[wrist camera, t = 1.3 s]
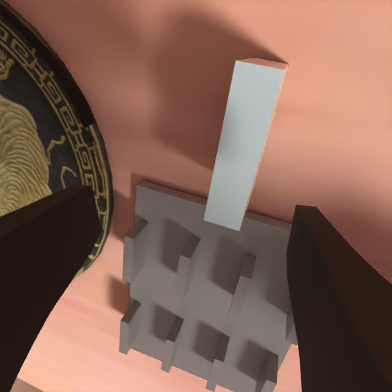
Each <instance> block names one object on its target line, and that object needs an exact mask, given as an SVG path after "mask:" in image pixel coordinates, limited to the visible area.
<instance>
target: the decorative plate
mask: <svg viewBox="0 0 392 392" xmlns="http://www.w3.org/2000/svg"><path fill="white" fill-rule="evenodd" d="M76 184H79V185H89V186H92V188H93V193H94V197H95V202H96V207H97V211H98V216H99V220H100V225H101V229H102V231H101V233H100V235H99V237H98V239H97V241H96V243H95V245H94V247H93V249H92V251H91V253H90V255H89V256H88V258H87V259H86V261H85V262H84V264H83V265H82V267H81V268H80V270H79V271H78V273H77V274H76V275H75V277H77V276H78V275H80V274H81V273H83V272H84V271H86V270H87V269H88V268H89V267H90V265H91V264H92V263H93V262H94V261H95V259H96V258H97V257H98V256H99V254H100V253H101V252H102V249H103V247H104V245H105V242H106V240H107V238H108V235H109V233H110V228H111V221H112V215H113V208H114V200H113V184H112V173H111V169H110V165H109V161H108V157H107V153H106V149H105V145H104V140H103V138H102V135H101V133H100V131H99V128H98V126H97V123H96V121H95V119H94V116H93V114H92V112H91V109H90V107H89V104H88V102H87V100H86V99H85V97H84V95H83V94H82V92H81V90H80V89H79V87H78V85H77V84H76V82H75V81H74V79H73V77H72V76H71V74H70V72H69V71H68V69H67V67H66V66H65V64H64V63H63V61H62V60H61V59H60V58H59V57H58V55H57V54H56V53H55V52H54V51H53V49H52V48H51V47H50V46H49V45H48V43H47V42H46V41H45V40H44V38H43V37H42V36H41V35H40V34H39V32H38V31H37V30H36V29H35V28H34V27H33V26H32V25H31V24H30V23H29V22H27V21H26V20H25V19H24V18H23V17H22V16H21V15H20V14H18V13H17V12H16V11H15V10H14V9H13V8H12V7H11V6H9V5H8V4H7V3H6V2H5V1H4V0H0V216H3V215H5V214H7V213H10V212H12V211H15V210H17V209H19V208H22V207H24V206H26V205H28V204H31V203H33V202H35V201H37V200H39V199H42V198H44V197H46V196H48V195H51V194H53V193H55V192H58V191H60V190H62V189H65V188H67V187H70V186H73V185H76ZM75 277H74V278H75ZM74 278H73V279H74Z"/></svg>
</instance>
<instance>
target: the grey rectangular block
mask: <svg viewBox="0 0 392 392" xmlns="http://www.w3.org/2000/svg"><path fill="white" fill-rule="evenodd" d="M288 65H289V64H286V63H281V62H276V61H270V60H265V59H260V58H249V59H242V60H236V61H235V66H234V71H233V76H232V81H231V86H230V91H229V96H228V101H227V106H226V111H225V116H224V121H223V126H222V131H221V136H220V141H219V146H218V151H217V156H216V161H215V166H214V171H213V176H212V181H211V186H210V191H209V196H208V201H207V206H206V211H205V216H204V220H205V221H208V222H211V223H215V224H218V225H221V226H224V227H228V228H231V229H234V230H237V231H239V230H240V227H241V224H242V221H243V218H244V215H245V212H246V209H247V206H248V203H249V200H250V197H251V194H252V191H253V188H254V185H255V181H256V178H257V174H258V171H259V167H260V164H261V160H262V157H263V153H264V150H265V146H266V143H267V139H268V136H269V132H270V129H271V125H272V121H273V118H274V114H275V111H276V107H277V104H278V100H279V97H280V93H281V90H282V86H283V83H284V79H285V76H286V72H287V69H288Z"/></svg>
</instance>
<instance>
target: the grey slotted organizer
mask: <svg viewBox="0 0 392 392" xmlns="http://www.w3.org/2000/svg"><path fill="white" fill-rule="evenodd" d="M207 201H208V199H205V198H202V197H198V196H195V195H192V194H188V193H185V192H181V191H178V190H174V189H171V188H168V187H164V186H161V185H157V184H154V183H151V182H147V181H144V180H142V181H141V182H140V183H138V184H137V186H136V202H135V218H134V226H133V227H132V228H131V230H130V231H129V232H128V233H127V234H126V235H125V236H124V254H123V277H122V280H123V281H125V282H128V283H130V297H129V309H128V310H127V312H126V313H125V315H124V316H123V318H122V319H121V322H120V345H119V352H122V353H124V354H126V355H127V353H128V351H129V350H130V348H132V349H134V350H136V351H139V352H141V353H143V354H146V355H148V356H151V357H153V358H155V359H158V360H160V361H162V366H161V370H164V371H166V372H168V373H169V371H170V369H171V366H174V367H177V368H179V369H182V370H184V371H186V372H189V373H191V374H193V375H196V376H198V377H201V378H203V379H205V380H208V381H207V385H206V389H208V390H211V391H213V392H214V390H215V387H216V384H217V385H220V386H222V387H224V388H227V389H229V390H232V391H234V392H273V390H274V388H275V386H276V384H277V372H278V370H279V368H280V366H281V364H282V362H283V360H284V358H285V356H286V354H287V352H288V350H289V348H290V346H291V344H295V345H297V343H298V342H297V336H296V330H295V324H294V318H293V312H292V306H291V300H290V294H289V287H288V281H287V263H286V251H287V246H288V241H289V237H290V232H291V227H292V224H290V223H287V222H284V221H280V220H277V219H273V218H270V217H267V216H263V215H260V214H256V213H253V212H250V211H246V212H245V215H244V218H243V221H242V224H241V227H240V230H239V231H237V230H234V229H231V228H228V227H224V226H221V225H218V224H215V223H211V222H208V221H205V220H204V216H205V211H206V206H207Z"/></svg>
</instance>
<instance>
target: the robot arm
mask: <svg viewBox="0 0 392 392" xmlns="http://www.w3.org/2000/svg"><path fill="white" fill-rule="evenodd" d="M101 231H102V229H101V225H100V220H99V216H98V211H97V207H96V202H95V197H94V193H93V188H92V186H89V185H79V184H76V185H73V186H70V187H67V188H65V189H62V190H60V191H58V192H55V193H53V194H51V195H48V196H46V197H44V198H42V199H39V200H37V201H35V202H33V203H31V204H28V205H26V206H24V207H22V208H19V209H17V210H15V211H12V212H10V213H7V214H5V215H3V216H0V392H10V390H11V388H12V386H13V384H14V382H15V379H16V377H17V375H18V373H19V371H20V369H21V367H22V365H23V363H24V361H25V359H26V357H27V355H28V353H29V351H30V349H31V347H32V345H33V343H34V341H35V340H36V338H37V336H38V334H39V332H40V330H41V329H42V327H43V325H44V323H45V321H46V319H47V318H48V316H49V314H50V313H51V311H52V309H53V308H54V306H55V305H56V303H57V302H58V300H59V299H60V297H61V296H62V294H63V293H64V291H65V290H66V288H67V287H68V286H69V284H70V283H71V281H72V280H73V278H74V277H75V275H76V274H77V273H78V271H79V270H80V268H81V267H82V265H83V264H84V262H85V261H86V259H87V258H88V256H89V255H90V253H91V251H92V249H93V247H94V245H95V243H96V241H97V239H98V237H99V235H100V233H101ZM286 263H287V281H288V287H289V294H290V300H291V306H292V312H293V318H294V324H295V330H296V336H297V342H298V349H299V357H300V371H301V386H302V392H392V284H390V283H389V282H388V281H387V280H386V279H385V278H384V277H382V276H381V275H380V274H379V273H378V272H377V271H376V270H375V269H374V268H373V267H372V266H371V265H370V264H368V263H367V262H366V261H365V260H364V259H363V258H362V257H361V256H360V255H359V254H358V253H357V252H356V251H355V250H354V249H353V248H352V247H351V246H350V245H349V244H348V242H347V241H346V240H345V239H344V238H343V237H342V236H341V235H340V234H339V233H338V232H337V230H336V229H335V228H334V227H333V226H332V225H331V224H330V222H329V221H328V220H327V219H326V218H325V217H324V216H323V214H322V213H321V212H320V211H319V210H318V209H317V208H316V207H312V206H301V205H296V208H295V213H294V218H293V222H292V227H291V232H290V237H289V241H288V246H287V251H286Z"/></svg>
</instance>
